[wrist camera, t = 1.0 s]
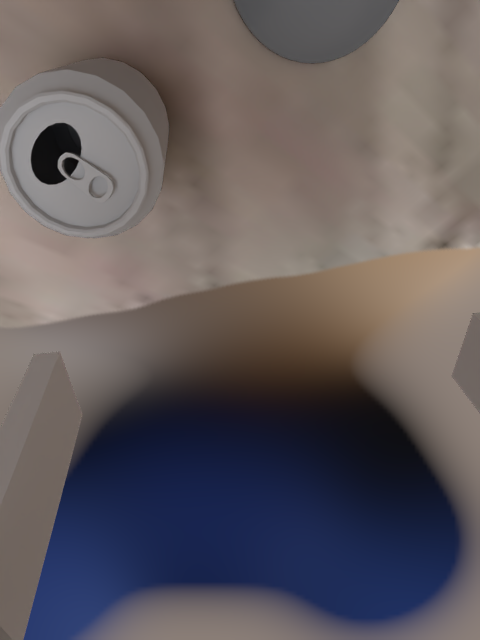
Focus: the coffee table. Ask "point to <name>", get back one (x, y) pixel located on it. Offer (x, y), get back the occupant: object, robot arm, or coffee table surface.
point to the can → (85, 147)
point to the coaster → (314, 25)
